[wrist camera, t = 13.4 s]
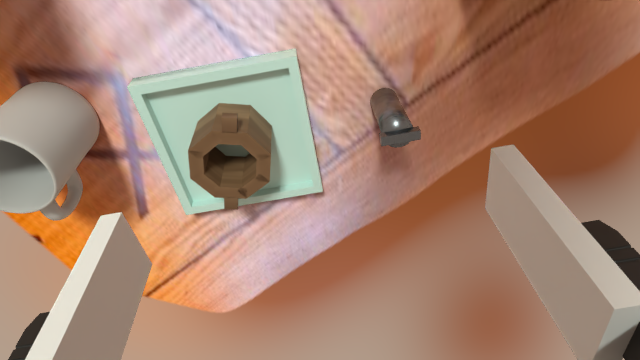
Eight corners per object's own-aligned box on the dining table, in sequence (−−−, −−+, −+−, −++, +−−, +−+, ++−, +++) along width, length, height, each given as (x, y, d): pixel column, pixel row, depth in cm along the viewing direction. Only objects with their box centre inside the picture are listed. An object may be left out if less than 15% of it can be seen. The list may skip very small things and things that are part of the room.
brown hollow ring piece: (195, 88, 43) (184, 115, 38) (273, 93, 44) (272, 120, 39) (201, 175, 50) (192, 207, 45) (269, 178, 51) (268, 210, 46)
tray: (133, 78, 43) (127, 87, 41) (295, 48, 43) (296, 56, 41) (189, 203, 53) (186, 215, 51) (321, 180, 53) (323, 191, 51)
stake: (365, 91, 46) (379, 128, 39) (399, 85, 46) (420, 121, 39) (368, 115, 48) (382, 154, 41) (401, 109, 48) (420, 148, 41)
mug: (-5, 88, 43) (-79, 144, 34) (76, 73, 42) (22, 125, 34) (58, 181, 50) (10, 247, 41) (127, 168, 50) (94, 233, 41)
